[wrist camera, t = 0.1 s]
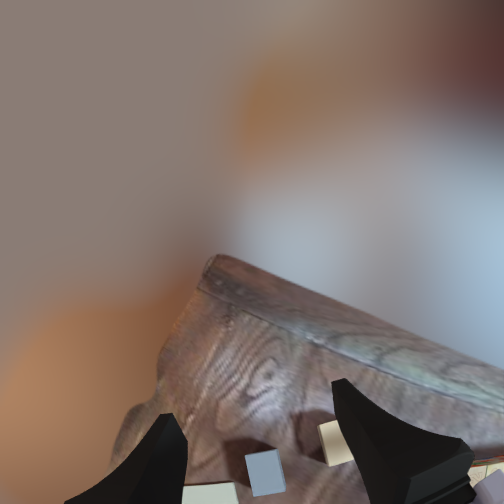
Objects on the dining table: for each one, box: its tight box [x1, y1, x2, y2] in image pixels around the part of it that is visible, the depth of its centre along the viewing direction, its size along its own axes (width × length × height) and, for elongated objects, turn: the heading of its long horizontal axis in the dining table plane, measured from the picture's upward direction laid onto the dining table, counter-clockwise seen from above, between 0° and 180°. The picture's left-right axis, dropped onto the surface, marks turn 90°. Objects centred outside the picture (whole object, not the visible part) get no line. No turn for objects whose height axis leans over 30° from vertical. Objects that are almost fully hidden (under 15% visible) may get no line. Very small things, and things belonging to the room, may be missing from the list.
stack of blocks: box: [468, 455, 504, 488], centre depth 23 cm, size 21×6×12 cm, turn 78°
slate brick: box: [245, 449, 286, 497], centre depth 34 cm, size 6×4×4 cm, turn 11°
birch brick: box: [317, 420, 354, 467], centre depth 35 cm, size 6×4×4 cm, turn 11°
